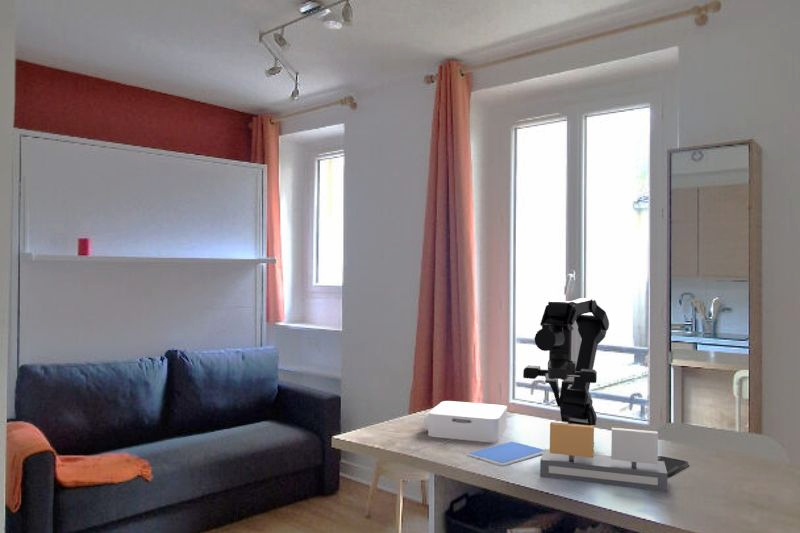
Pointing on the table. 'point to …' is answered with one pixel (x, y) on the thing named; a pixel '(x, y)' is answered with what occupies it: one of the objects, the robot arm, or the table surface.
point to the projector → (467, 421)
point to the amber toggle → (572, 439)
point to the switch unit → (604, 471)
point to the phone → (673, 465)
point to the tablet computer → (506, 453)
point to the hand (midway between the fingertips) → (559, 406)
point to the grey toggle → (634, 446)
